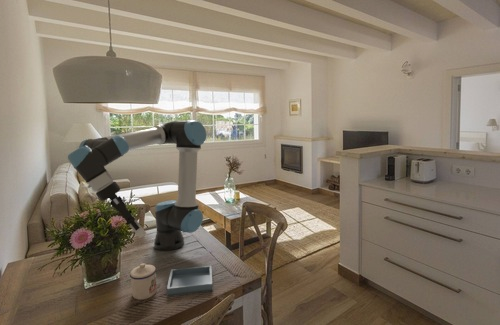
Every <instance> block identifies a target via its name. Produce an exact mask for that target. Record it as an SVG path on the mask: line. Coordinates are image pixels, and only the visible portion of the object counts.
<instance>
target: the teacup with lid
mask: <svg viewBox="0 0 500 325" xmlns="http://www.w3.org/2000/svg"><path fill="white" fill-rule="evenodd" d="M156 271H157V268H156V267H155V266H154V265H152V264H146V263H145V262H144V263H143V262H142V263H140V264H139V265H138V266H136V267H133V269H131V271H130V273H129V277H130V282H131V283H130V284H131V293H132V297H133V298H134V299H136V300H139V301H140V300H147V299H149V298H151V297H153V296H154V295H155V294H156V293H157V290H158V289H157V288H158V287H157V276H156V275H157V274H156Z"/></svg>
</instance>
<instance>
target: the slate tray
mask: <svg viewBox="0 0 500 325" xmlns="http://www.w3.org/2000/svg"><path fill="white" fill-rule="evenodd" d="M206 292H213V271H212V265H203V266H194V267H184V268H175V269H174V268H172V269H170V274H169V278H168V282H167V287H166V295H167V297H175V296H181V295H182V296H183V295H189V294H197V293H206Z"/></svg>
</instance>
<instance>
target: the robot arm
mask: <svg viewBox="0 0 500 325" xmlns="http://www.w3.org/2000/svg"><path fill="white" fill-rule="evenodd" d="M206 140H207V131H206V128H205V126H204V125H203V123H202V122H200V121H199V120H194V119H190V120H189V119H188V120H187V119H186V120H184V119H183V120H172V121H168V122H164V123H161V124H157V125H154V126H153V127H152V128H147V129H141V130H136V131H130V132H125V133H120V134H115V135H108V136H105V137H98V138H94V139H93V138H88V139H84V140H82V141H81V142H80V144H79V145H78V149H76V150H74V151H72V152H71V153H69V154H68V156H67V160H68V162H69V163H70V164H71V165H72V167H73V168H74V169H75V170H76V172H77V173H78V174H79V175H80V177H81V178H82V179H83V180H84V181H85V182H86V183H87V188H88V189H91V190H92V191H93V192H94V193H95V195H96V196H97V197H98V199H99V200H100V201H101V202H105V201H107V200H108V199H109V200H110V202H109V203H110V205H111V206H112V208H114V209H115V210H116V212H119V213H120V215H121V216H122V217H123V218H124V220H125V221H126V223H125V225H126V226H129V227H130V228H131V229H132V231H133V232H134V233H135V234H136V235H137V237H138V239H141V238H143V237H144V236H145V235H147V232H146V231H145V229H144V228H143V226H142V225H141V224H140V222H138V220H137V219H136V218H135V217H134V215H133V214H132V213H133V211H132V210H130V209H128V208H127V204H126V203H125V202H124V200H123V198H122V197H121V196H120V195H119V196H118V195H117V194H118V192H120V191H121V187H120V186H119V185H118V183H117V181H114V178H113V176H112V175H111V173H110V172H109V171H108V170H107V169H106V166H107V165H109V164H111V163H113V162H114V161H116V160H118V159H119V158H121V157H123V156H124V155H126V154H127V153H129V151H131V150H136V149H139V148H145V147H148V146H152V145H156V144H157V145H160V146H161V145H166V144H169V145H171V144H174V145H176V146H175V147H176V149H177V150H178V151H179V153H178V175H177V177H178V179H177V182H178V183H177V200H175V199H171V200H166V201H162V202H159V203H156V204H155V206H154V214H155V215H154V216H155V225H156V226H155V227H156V234H155V238H154V241H153V247H154V249H155V250H157V251H161V252H165V251H166V252H168V251H173V250H177V249H179V248H181V247H182V246H184V244H185V238H184V235H183V233H189V234H191V233H195V232H196V231H197V230H199V228H200V227H201V225H202V224H203V220H204V215H203V212H202V211H201V209H200V208H199V203H198V202H197V200H196V198H197V197H196V196H197V193H196V192H197V170H198V152H199V151H200V150H201V149H202V148H201V146H202V145H203V144H204V143H205V142H206ZM182 232H183V233H182Z"/></svg>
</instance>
